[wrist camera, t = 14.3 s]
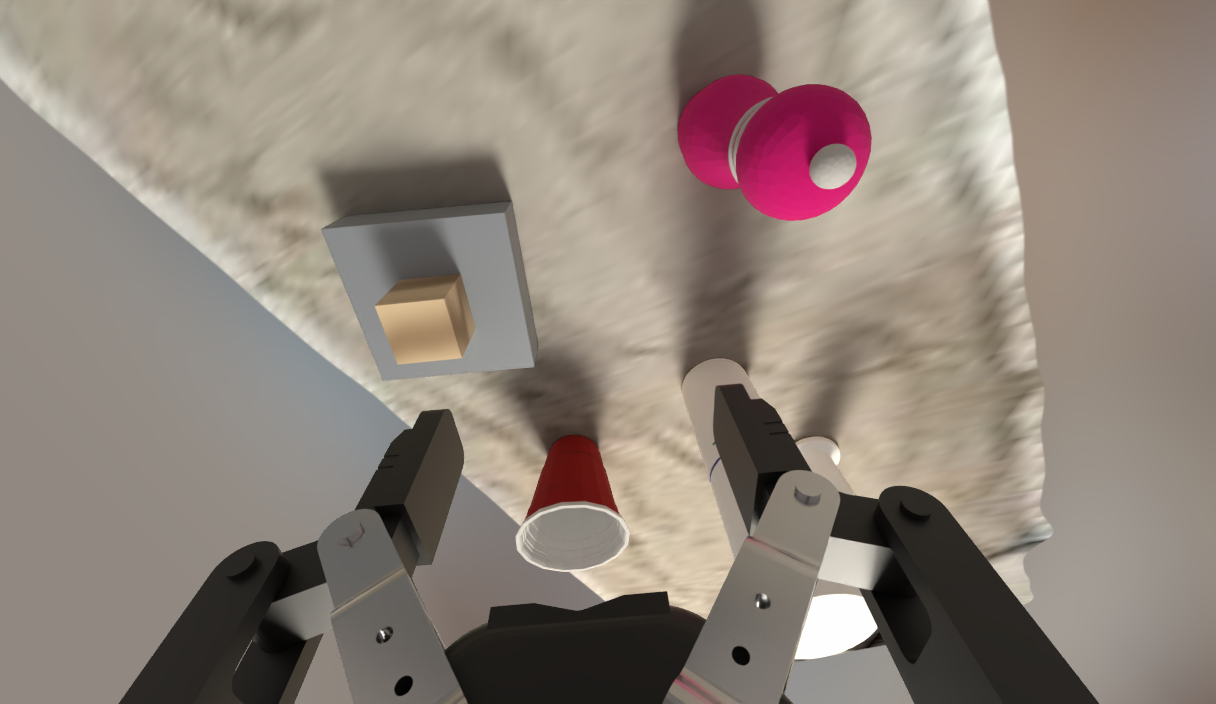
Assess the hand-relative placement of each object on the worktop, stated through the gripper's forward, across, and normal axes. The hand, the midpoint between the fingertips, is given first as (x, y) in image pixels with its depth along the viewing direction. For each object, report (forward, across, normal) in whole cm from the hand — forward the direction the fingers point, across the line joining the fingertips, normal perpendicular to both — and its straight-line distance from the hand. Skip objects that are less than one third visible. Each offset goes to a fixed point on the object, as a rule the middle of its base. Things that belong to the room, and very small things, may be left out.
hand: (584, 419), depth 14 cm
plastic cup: (+28, +4, +28) cm, 40 cm away
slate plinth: (+28, +13, +6) cm, 32 cm away
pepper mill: (+28, -11, -5) cm, 31 cm away
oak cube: (+24, +13, +6) cm, 28 cm away
